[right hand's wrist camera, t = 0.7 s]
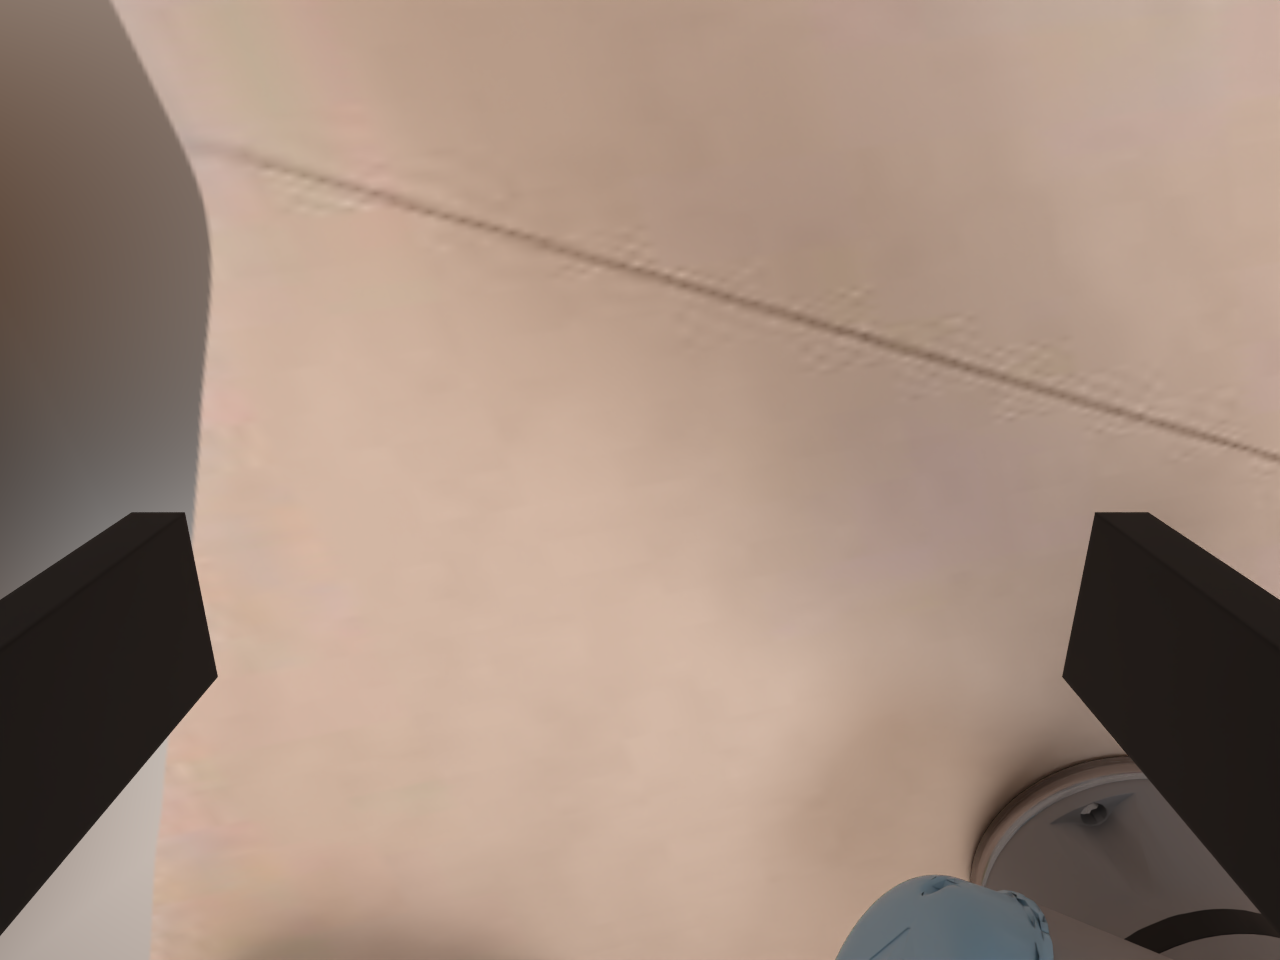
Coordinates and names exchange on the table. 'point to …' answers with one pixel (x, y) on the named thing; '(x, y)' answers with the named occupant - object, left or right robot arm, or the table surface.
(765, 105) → the table surface
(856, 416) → the table surface
